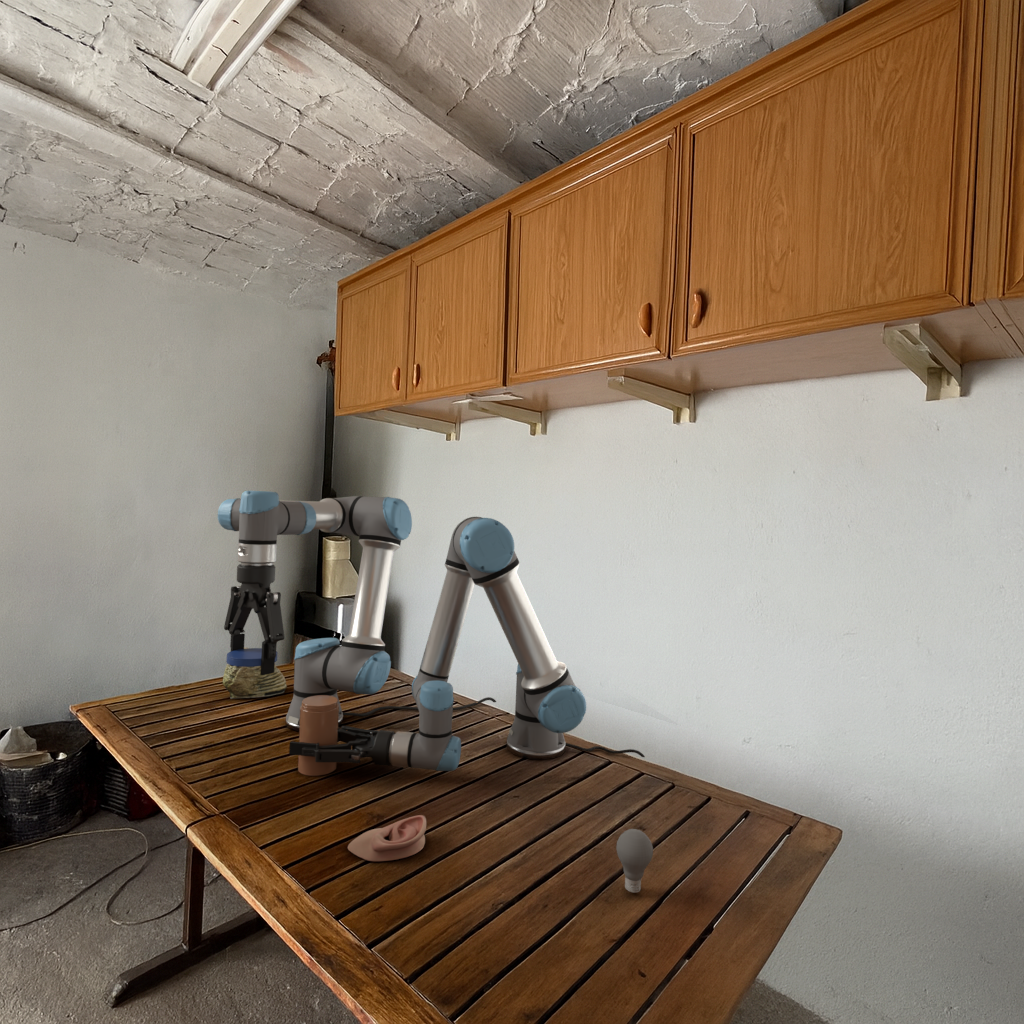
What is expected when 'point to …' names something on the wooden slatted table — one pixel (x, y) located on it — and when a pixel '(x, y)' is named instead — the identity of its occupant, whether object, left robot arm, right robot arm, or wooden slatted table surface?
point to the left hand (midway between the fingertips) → (251, 669)
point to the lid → (246, 657)
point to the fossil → (252, 682)
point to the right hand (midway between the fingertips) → (299, 740)
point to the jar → (318, 731)
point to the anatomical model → (391, 840)
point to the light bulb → (634, 857)
